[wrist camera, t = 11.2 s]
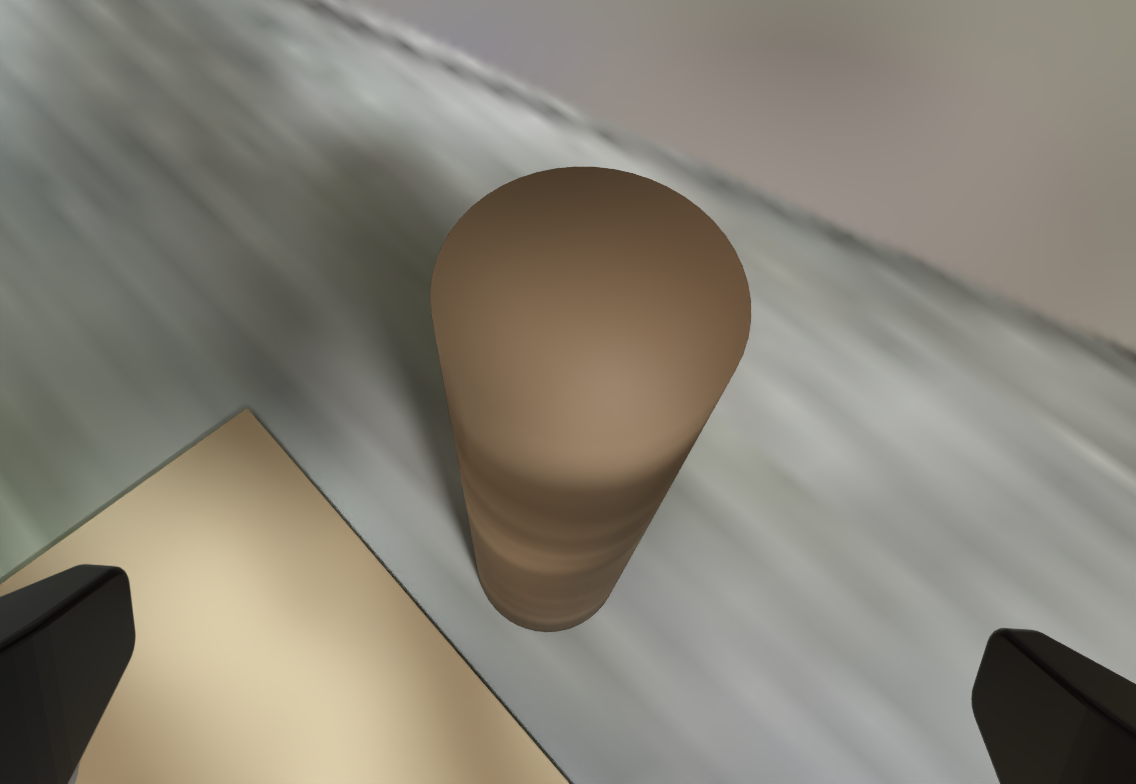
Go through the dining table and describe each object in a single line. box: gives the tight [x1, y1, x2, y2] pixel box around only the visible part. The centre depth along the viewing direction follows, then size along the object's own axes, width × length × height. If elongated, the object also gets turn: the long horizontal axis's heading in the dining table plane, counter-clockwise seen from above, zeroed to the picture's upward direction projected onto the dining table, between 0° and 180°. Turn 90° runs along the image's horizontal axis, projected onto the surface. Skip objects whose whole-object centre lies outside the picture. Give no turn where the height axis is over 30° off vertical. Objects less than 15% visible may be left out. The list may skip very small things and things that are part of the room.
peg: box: [430, 167, 751, 632], centre depth 14 cm, size 3×3×12 cm
